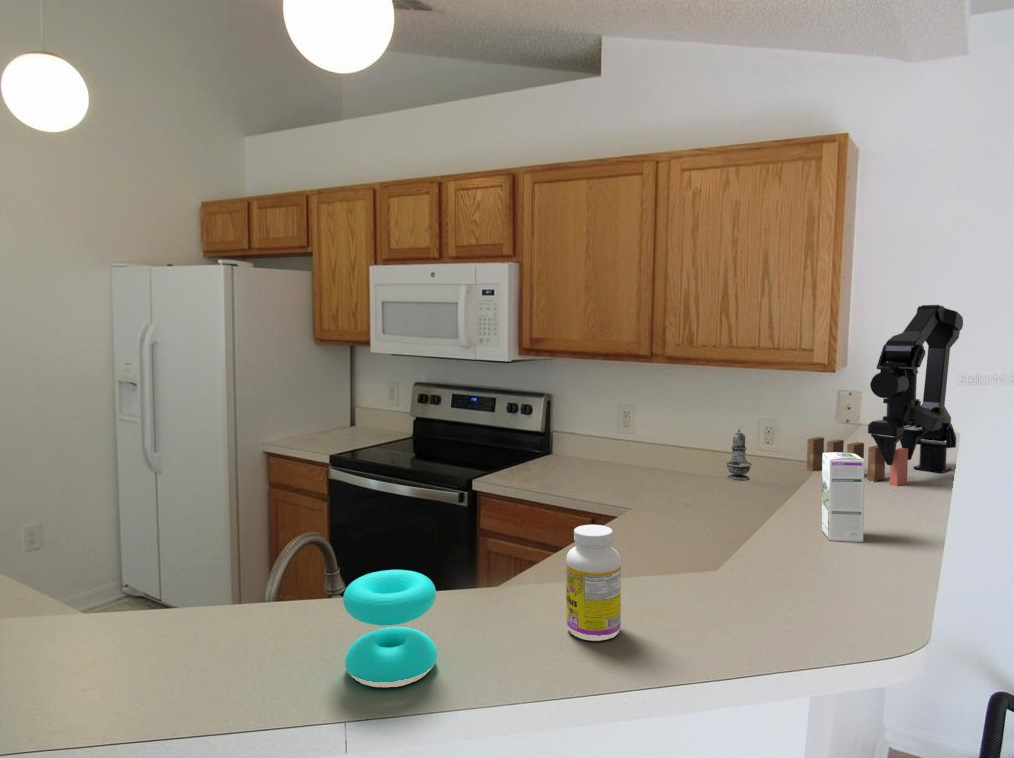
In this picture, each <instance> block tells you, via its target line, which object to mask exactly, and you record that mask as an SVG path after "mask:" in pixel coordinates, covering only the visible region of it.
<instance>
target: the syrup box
mask: <svg viewBox="0 0 1014 758" xmlns="http://www.w3.org/2000/svg"><path fill="white" fill-rule="evenodd" d="M822 456H823V457H822V469H821V526H820V527H821V532H822V533H823V534H824V536H825V537H826V538H827V539H828V540H829V541H832V542H833V541H835V542H848V543H849V542H850V543H852V542H853V543H854V542H855V543H864V527H865V526H864V525H865V524H864V523H865V521H864V520H865V519H864V518H865V458H864V459H862V458H861V457H859V456H858V455H856V454H855V453H847V451H846V452H844V451H843V452H830V453H827V452H824V453H823V455H822Z"/></svg>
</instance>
